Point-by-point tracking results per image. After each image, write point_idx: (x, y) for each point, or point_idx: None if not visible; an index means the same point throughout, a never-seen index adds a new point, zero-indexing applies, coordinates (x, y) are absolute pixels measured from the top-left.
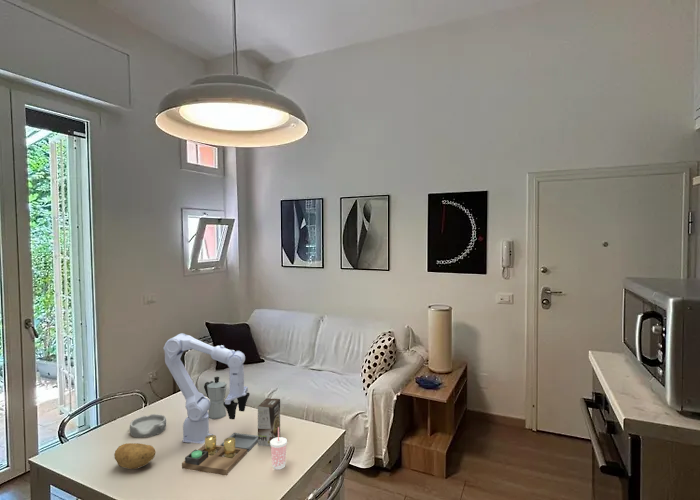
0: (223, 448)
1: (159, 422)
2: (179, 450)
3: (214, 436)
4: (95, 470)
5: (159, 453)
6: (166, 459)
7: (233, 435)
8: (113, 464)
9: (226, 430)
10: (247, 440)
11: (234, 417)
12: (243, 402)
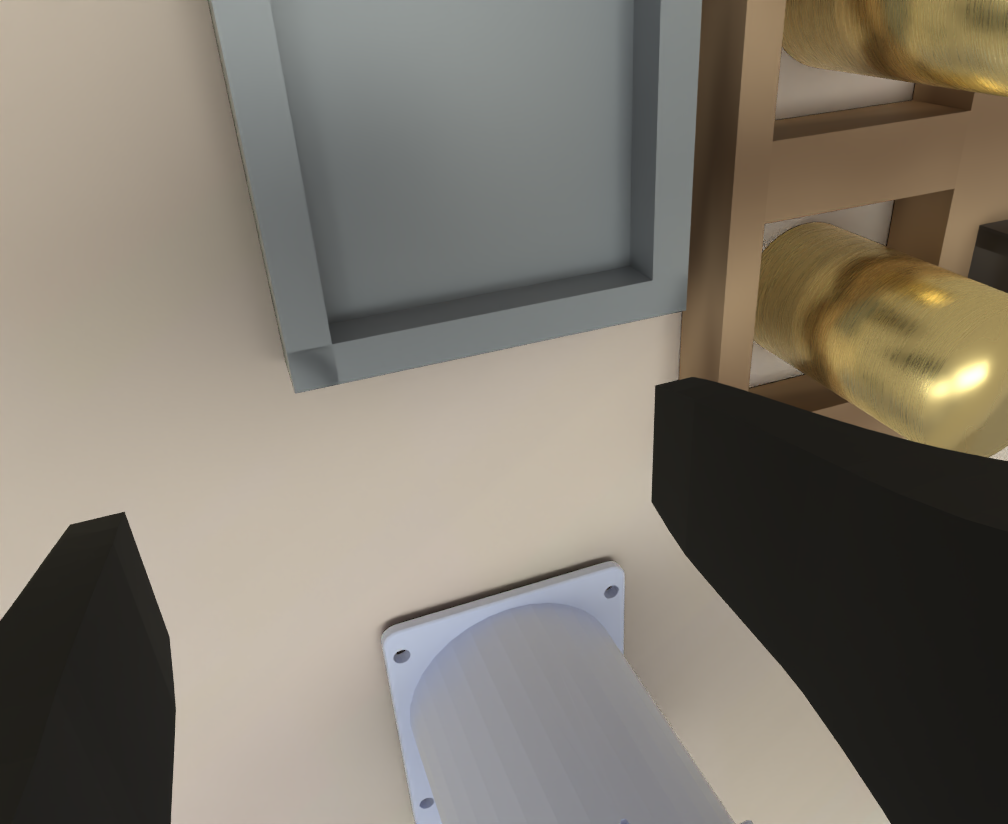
0: (788, 182)
1: None
2: (747, 638)
3: (969, 357)
4: None
5: (810, 715)
6: None
7: (382, 334)
8: None
9: (165, 606)
10: (336, 14)
11: (722, 386)
12: (87, 787)
